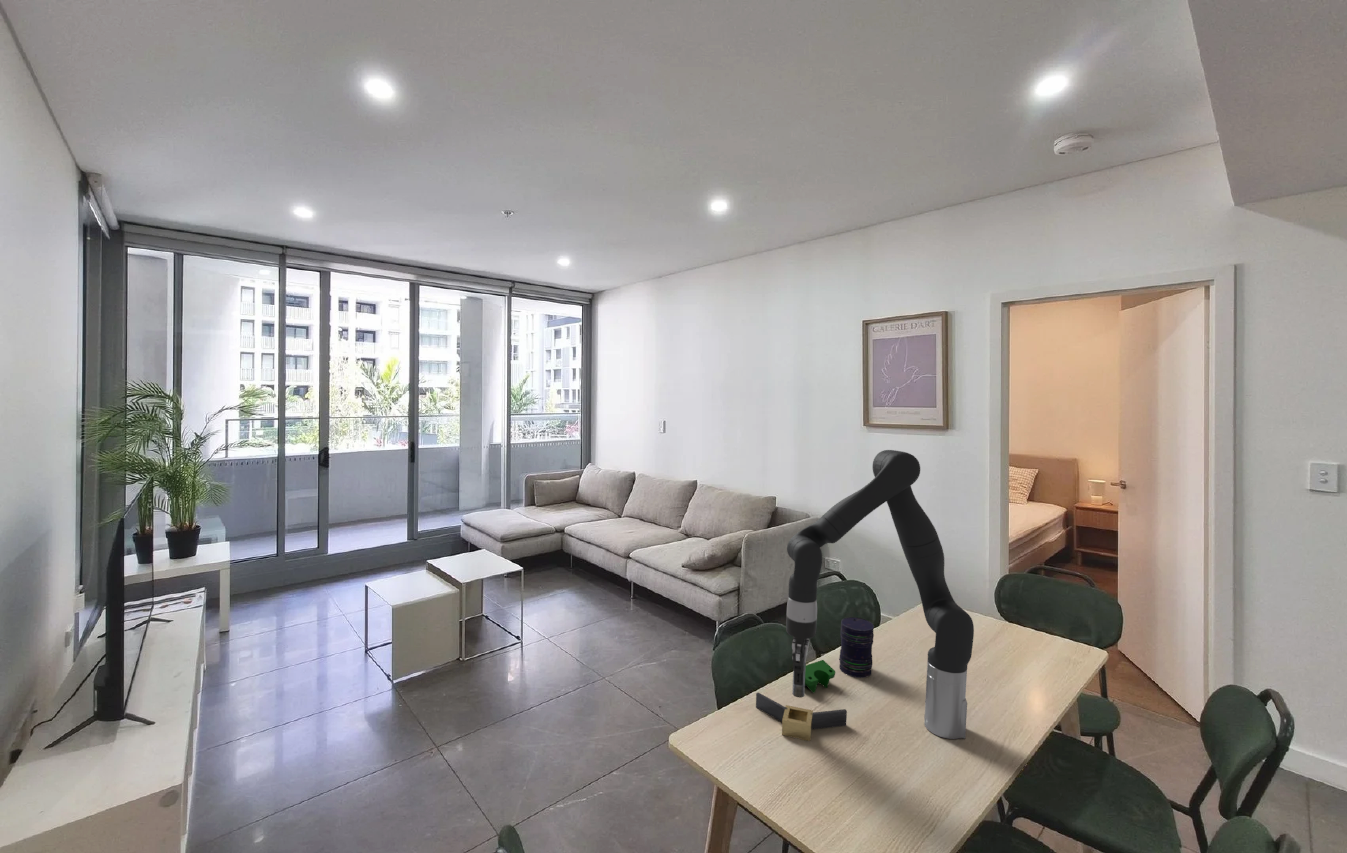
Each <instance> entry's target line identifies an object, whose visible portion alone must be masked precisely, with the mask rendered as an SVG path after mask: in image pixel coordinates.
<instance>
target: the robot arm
mask: <svg viewBox="0 0 1347 853" xmlns="http://www.w3.org/2000/svg"><path fill="white" fill-rule="evenodd" d="M872 473H873V476H874V478H873V479H872V480H871V481H869V483H867V484H866V485H865V486H863V487H862V488H860V489H859V490H857V491H855V492H853V493H851V494H850V495H848V496H847V497H845V498H843V499H841V500H839V501H838V502H837V503H835V504H834V505H833V506H832V507H831V508H830V509H828V510H827V511H826V512H825V513H824V514H823V515H822V516H820V517H819V518H818V520H815V521H814V522H813V523H811V524H809V525H807V526H805V527H804V528H802V529H801V530H799V531H798V532H796V533H795V534H794V535H793V536H791V538H790V539H789V541H788V543H787V544H786V545H787V547H786V552H787V554H788V556H789V557H790V559H791V560H792V561H793V562H794V569H793V573H792V574H791V575H790V577H789V580H788V595H787V596H788V597H787V603H786V604H787V605H786V621H785V622H786V623H785V631H786V633H787V634H788V635H789V636H791V637H793V640H792V641H791V642H792V643H791V649H792V657H791V658H792V671H794V684H795V685H800V686H802V685H803V672H804V663H805V662H806V663H807V658H808V653H809V646H810V640H811V639H813V638H814V637H816V635H817V625H818V623H817V622H818V603H817V602H818V599H817V596H818V581H819V578H820V575H821V571H822V565H823V552H822V549H821V548H822V547H823V546H825V545H827V544H835V543H837V542H838V541H840V539H842V538H843V537H844V536H846V534H848V533H849V532H850V531H851V530H852V529H853V528H854V527H856V525H857V524H859V523H860V522H861V521H862V520H864V518H866V517H867V516H868V515H870V514H871V513H872V512H874V511H875V510H876V509H878V508H879V507H881V505H883V504H884V503H887V506H888V509H889V511H890V512H889V513H890V515H891V519H892V521H893V525H894V528H895V530H896V533H897V537H898V539H899V542H900V546H901V548H902V552H903V554H904V556H905V560H906V561H907V564H908V567H909V569H910V571H911V572H910V573H911V574H912V577H913V579H914V581H915V584H916V585H917V589H918V593H919V597H920V601H921V605H922V609H923V614H924V618H925V621H926V623H927V625H928V627H929V628H930V629H931V630H932V631H933V632H934V633H935V639H934V640H935V641H934V646H933V647H931V648H929V650H928V651H927V662H926V664H927V665H926V666H927V667H926V680H925V684H926V685H925V700H924V702H925V704H924V714H923V715H924V722H923V725H924V727H925V728H926V729H927V730H928V731H929V732H931V733H932V734H934V735H935V736H937V737H940V738H944V739H948V740H949V739H950V740H956V739H966V731H967V715H968V714H967V712H968V701H967V698H966V697H967V696H966V695H967V694H966V692H967V676H968V664H969V663H970V661H971V658H972V655H973V644H974V636H975V633H974V632H975V628H974V621H973V618H972V616H970V614H969V613H968V612H966V611H965V610H964V609H963V608H962V607H961V606H959V605H958V604H957V603H956V601H955V599H954V598H953V595H952V594H951V591H950V589H949V587H948V583H947V582H946V578H945V554H944V548H943V545H942V544H941V540H940V538H939V534H938V531H937V530H936V528H935V526H934V524H933V522H932V521H931V519H930V517H929V516H928V514H927V513H926V512H925V510H924V509H923V508H922V506H921V505H920V504H919V502H918V500H917V498H916V496H915V495H914V492H913V489H912V486H913V485H914V483H916V481H918V479H919V477H920V474H921V464H920V462H919V460H918V459H917V457H916V456H914V455H913V454H911V453H909V452H905V451H900V450H896V449H895V450H893V449H886V450H881V451H880V452H878V453H877V454H876V455H875V457H874V459H873V461H872Z"/></svg>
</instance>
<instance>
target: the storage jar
mask: <svg viewBox="0 0 1347 853" xmlns="http://www.w3.org/2000/svg"><path fill="white" fill-rule="evenodd" d="M840 621H841V622H840V637H839V638H840V640H841V641H840V650H839V667H838V668H839V670H840V672H841V673H843V674H845V675H846V674H847V676H850V677H853V678H859V679H862V678H868V677H870V676H871V675H872V672H873V670H872V669H873V653H872V652H873V644H874V636H875V635H874V628H875V626H874V624H873V623H872V622H871V621H869V620H867V619H864V618H862V617H861V618H860V617H853V616H849V617H844V618H842V619H841V620H840Z"/></svg>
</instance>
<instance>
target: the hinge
mask: <svg viewBox="0 0 1347 853" xmlns="http://www.w3.org/2000/svg"><path fill="white" fill-rule="evenodd" d="M755 708H756V709H758V710H760V711H761V712H763V713H765V714H767V715H768V716H771V717H772V718H774V719H775V720H777V721H778V722H781V723H782V724H781V736H784V737H789V738H794V739H799V740H804V741H807V742H810V741H811V738H812V731H813V730H818V729H828V728H829V729H830V728H835V727H838V728H839V727H847V716H848V715H847V714H848V712H847V711H848V710H847V709H846V708H845V709H833V710H826V711H825V710H824V711H814V710H812V709H807V708H802V707H797V706H791V705H787V704H786V705H782V704H780V703H779V702H777V701H775V700H773V699H771V698H769V697H768V696H766V695H764V694H762V693H760V692H756V693H755Z"/></svg>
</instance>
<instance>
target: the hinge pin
mask: <svg viewBox="0 0 1347 853" xmlns="http://www.w3.org/2000/svg"><path fill="white" fill-rule="evenodd" d="M806 663H807V661H806V662H805V663H804V672H803V685H802V686H800V685H795V684H794V671H793V670H792V671H793V673H792V692H791V693H792V695H793V696H794V697H796V698H798V699H799V698H804V697H805V691H806V689H805V688H806V686H805V669H806V665H807V664H806Z"/></svg>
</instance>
